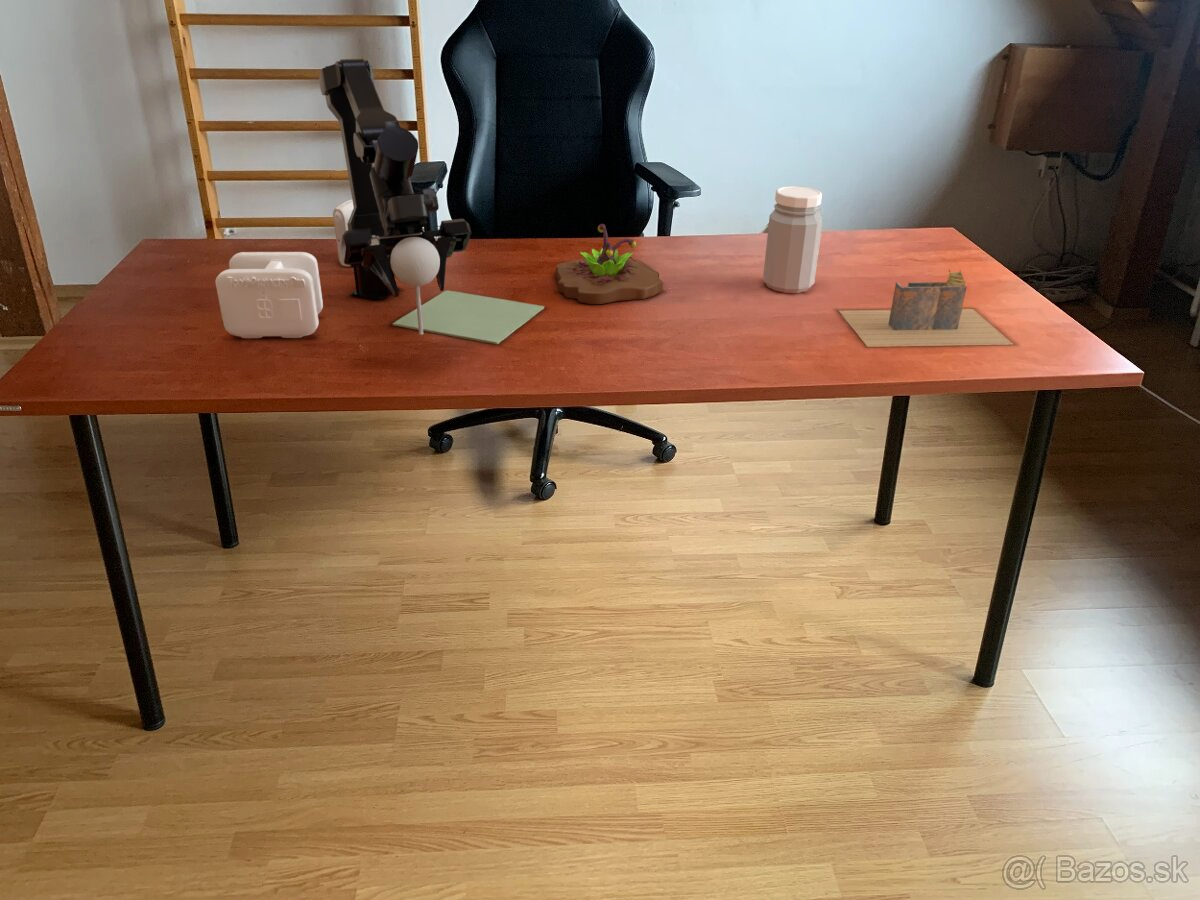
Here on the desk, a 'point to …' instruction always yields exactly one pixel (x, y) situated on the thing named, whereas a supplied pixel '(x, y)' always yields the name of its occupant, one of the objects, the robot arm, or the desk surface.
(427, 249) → the lollipop
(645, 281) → the plant
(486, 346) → the desk surface
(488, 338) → the desk mat
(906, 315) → the ruin model on sheet
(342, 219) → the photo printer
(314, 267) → the cable organizer
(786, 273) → the jar
